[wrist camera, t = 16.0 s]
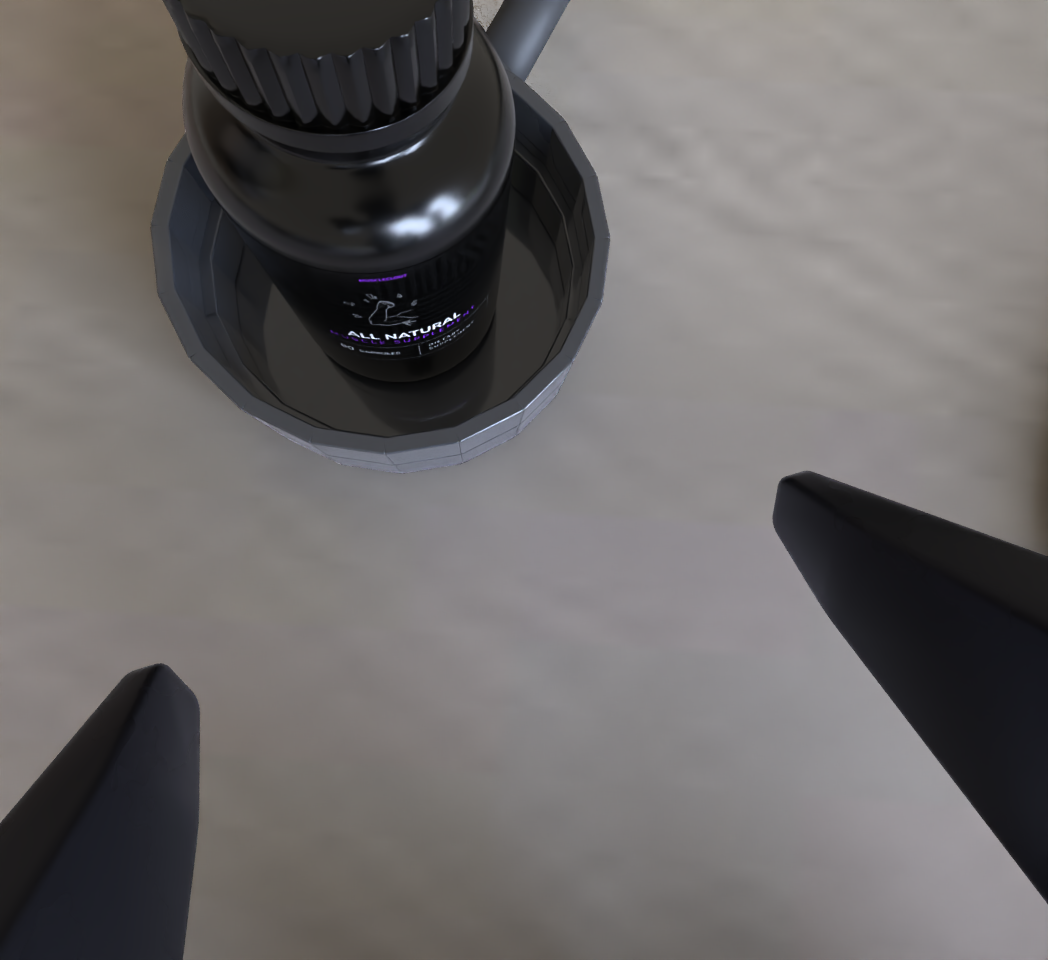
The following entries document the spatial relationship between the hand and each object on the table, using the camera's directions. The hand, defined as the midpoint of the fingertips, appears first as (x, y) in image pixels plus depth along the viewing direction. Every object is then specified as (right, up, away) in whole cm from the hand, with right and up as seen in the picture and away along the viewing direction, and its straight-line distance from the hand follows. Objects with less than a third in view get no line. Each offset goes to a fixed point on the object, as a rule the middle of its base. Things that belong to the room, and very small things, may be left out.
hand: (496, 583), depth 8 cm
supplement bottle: (-4, +8, +12) cm, 15 cm away
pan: (-4, +8, +12) cm, 15 cm away
